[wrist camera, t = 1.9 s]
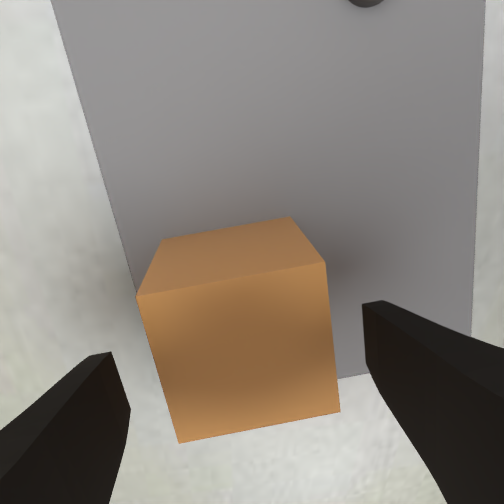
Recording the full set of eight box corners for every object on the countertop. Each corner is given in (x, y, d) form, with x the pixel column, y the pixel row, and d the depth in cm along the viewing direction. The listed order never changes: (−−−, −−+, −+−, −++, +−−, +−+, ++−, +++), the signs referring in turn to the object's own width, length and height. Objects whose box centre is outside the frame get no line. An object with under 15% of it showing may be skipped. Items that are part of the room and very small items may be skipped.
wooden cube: (290, 216, 15) (325, 261, 10) (304, 327, 16) (340, 411, 12) (162, 239, 14) (135, 296, 10) (189, 349, 16) (178, 443, 11)
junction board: (464, -236, 12) (602, -435, 8) (451, 335, 19) (518, 398, 15) (16, -171, 11) (-102, -343, 7) (175, 389, 18) (162, 468, 14)
